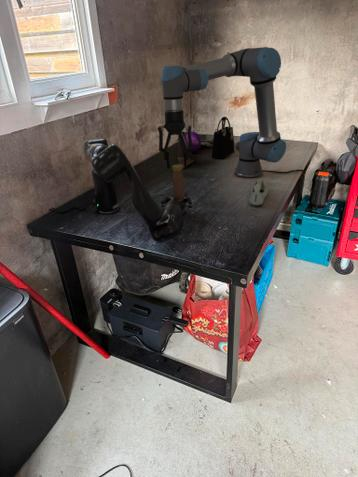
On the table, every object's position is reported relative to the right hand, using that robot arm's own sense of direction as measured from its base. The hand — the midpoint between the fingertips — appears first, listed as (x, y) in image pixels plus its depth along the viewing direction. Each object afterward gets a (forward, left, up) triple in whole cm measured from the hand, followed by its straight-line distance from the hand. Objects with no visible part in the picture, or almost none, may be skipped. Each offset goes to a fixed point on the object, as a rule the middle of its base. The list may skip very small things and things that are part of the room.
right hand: (176, 167), depth 140 cm
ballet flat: (-34, -22, -21) cm, 46 cm away
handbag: (-6, -92, -21) cm, 94 cm away
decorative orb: (+17, -95, -21) cm, 99 cm away
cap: (0, 0, 0) cm, 0 cm away
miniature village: (-27, -116, -21) cm, 121 cm away
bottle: (0, 0, -21) cm, 21 cm away
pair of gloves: (+9, -121, -21) cm, 123 cm away
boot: (+15, -72, -21) cm, 76 cm away
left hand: (0, -3, -14) cm, 15 cm away
